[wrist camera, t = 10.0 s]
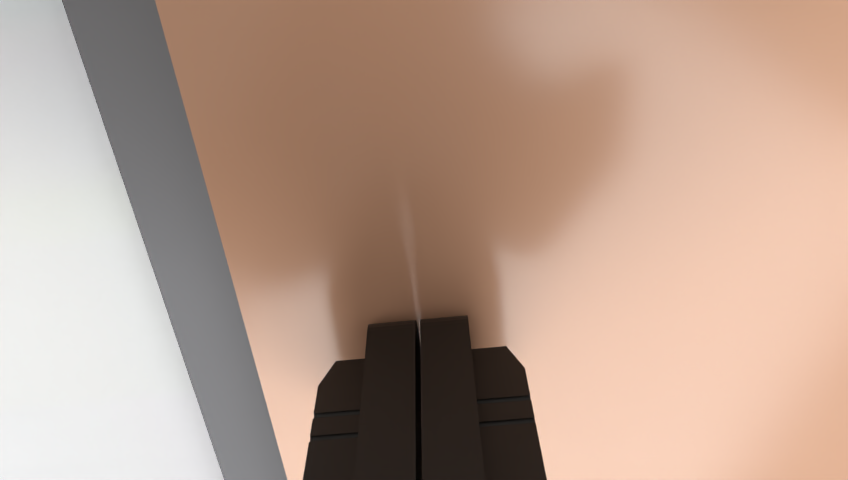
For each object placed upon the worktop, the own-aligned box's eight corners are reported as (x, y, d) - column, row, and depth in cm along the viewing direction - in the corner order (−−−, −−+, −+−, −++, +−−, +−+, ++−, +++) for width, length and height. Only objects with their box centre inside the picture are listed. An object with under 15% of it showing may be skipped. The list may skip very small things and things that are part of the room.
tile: (1068, -242, 8) (971, -237, 9) (118, -134, 8) (154, -144, 9) (829, 586, 15) (792, 523, 16) (332, 640, 15) (335, 574, 16)
